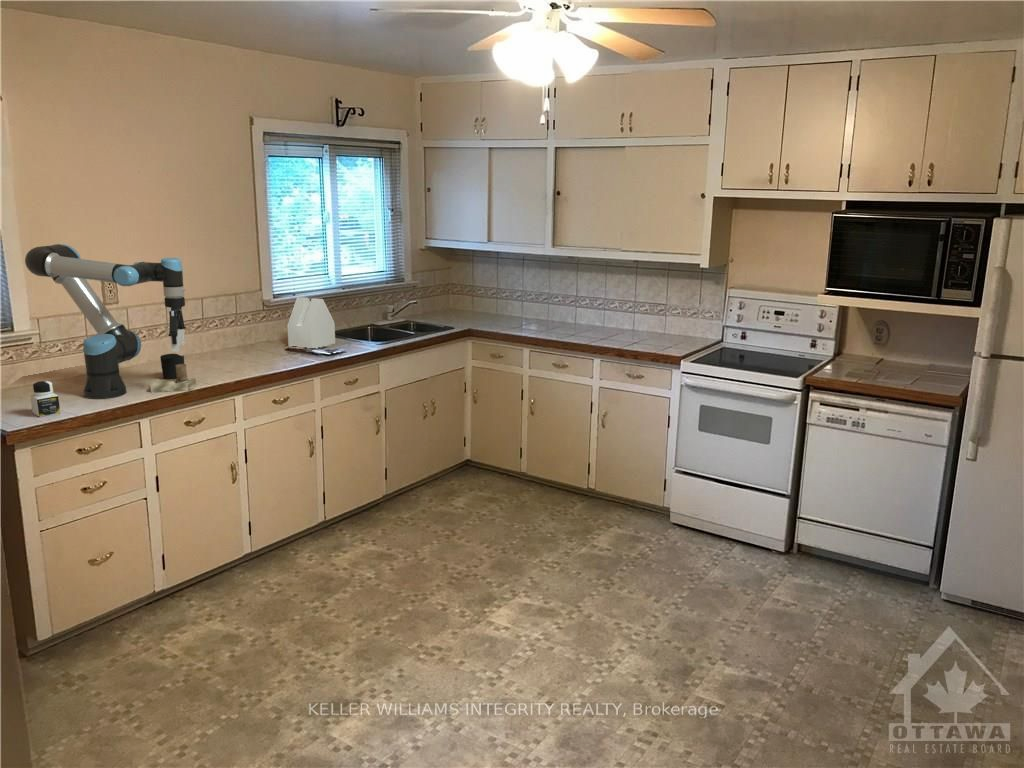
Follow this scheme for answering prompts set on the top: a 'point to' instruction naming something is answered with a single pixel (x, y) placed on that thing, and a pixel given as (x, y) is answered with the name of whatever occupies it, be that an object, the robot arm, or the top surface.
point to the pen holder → (170, 365)
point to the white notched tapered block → (310, 324)
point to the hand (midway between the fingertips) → (178, 348)
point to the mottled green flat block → (172, 385)
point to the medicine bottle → (44, 399)
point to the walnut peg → (181, 373)
